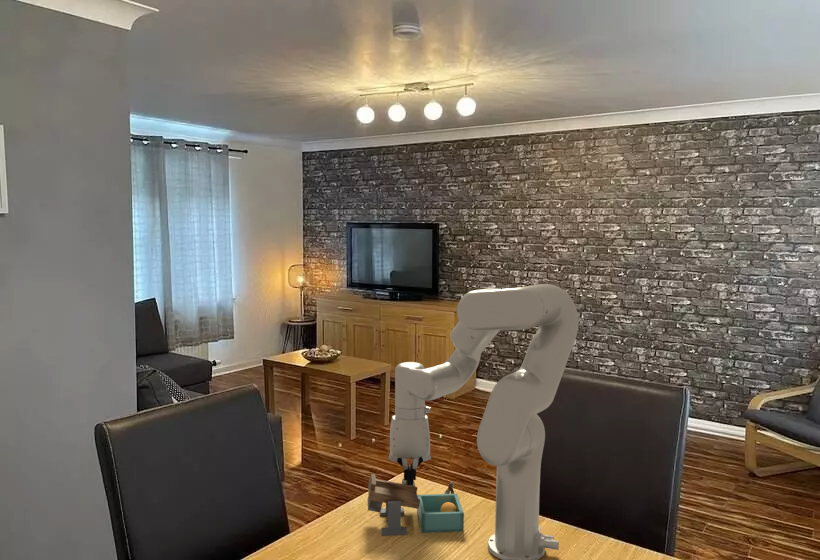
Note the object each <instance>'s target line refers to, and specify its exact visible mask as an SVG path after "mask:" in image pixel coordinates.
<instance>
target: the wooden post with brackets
mask: <svg viewBox="0 0 820 560" xmlns="http://www.w3.org/2000/svg"><path fill="white" fill-rule="evenodd" d="M454 487H455V486H454V482H453V481H451V482H449V483H448V487H447V488H446V489H445V491H444V493H443V494H455V491H454Z"/></svg>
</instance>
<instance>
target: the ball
mask: <svg viewBox="0 0 820 560" xmlns="http://www.w3.org/2000/svg"><path fill="white" fill-rule="evenodd" d="M441 512H457V508H456V506H455V505H454V504H453V503H451V502H446V503H444V504H443V505H442V507H441Z"/></svg>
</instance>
